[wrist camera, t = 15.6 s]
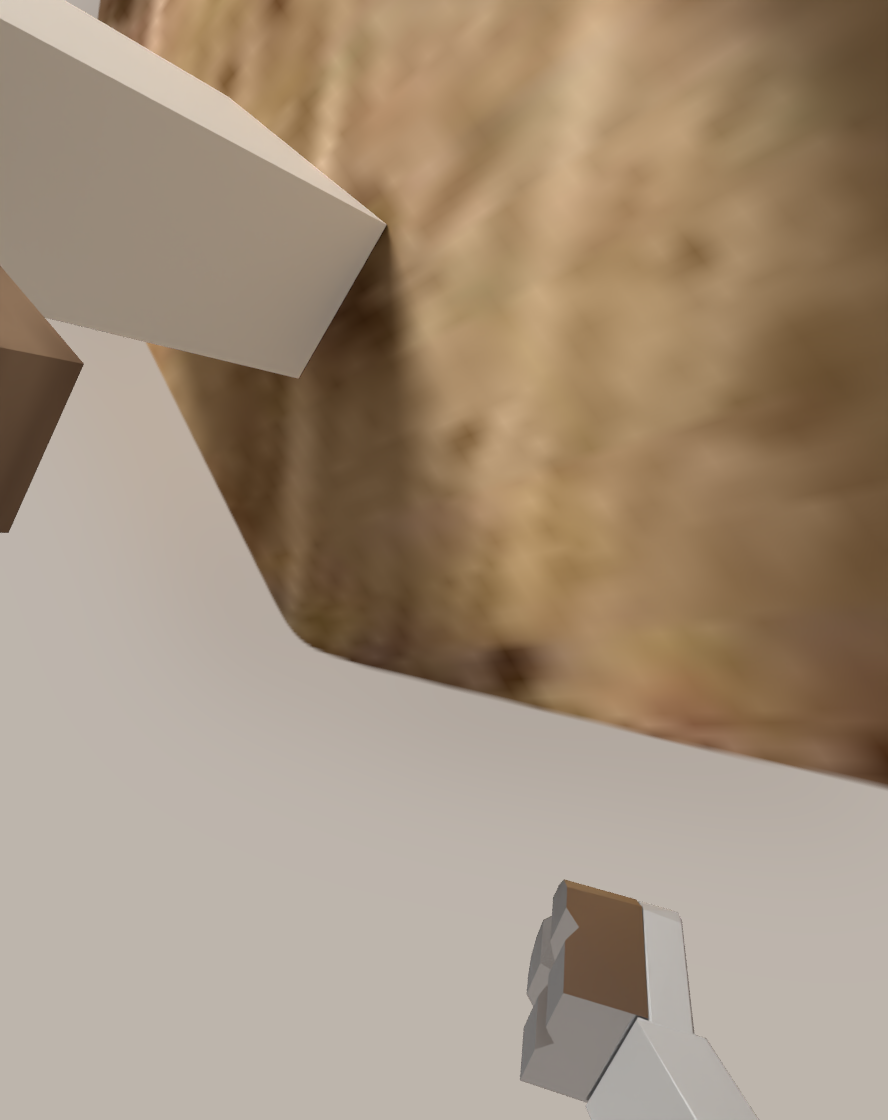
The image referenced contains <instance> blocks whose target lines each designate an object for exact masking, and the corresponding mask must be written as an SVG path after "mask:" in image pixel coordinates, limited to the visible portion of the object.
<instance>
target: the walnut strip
mask: <svg viewBox="0 0 888 1120" xmlns="http://www.w3.org/2000/svg"><path fill="white" fill-rule="evenodd" d="M83 365H84V364H83V362H82V361H81V360H80V359H79V358H78V356H77V355H76V354H75V353H74V352H73V351H72V349H71V348H70V347H69V346H68V345H67V344H66V342H65V341H64V340H63V339H62V338H61V336H60V335H59V334H58V333H57V332H56V331H55V329H54V328H53V327H52V326H51V325H50V324H49V322H48V321H47V320H46V319H45V318H44V316H43V315H42V314H41V313H40V312H39V311H38V309H37V308H36V307H35V306H34V305H33V303H32V302H31V301H30V300H29V299H28V298H27V296H26V295H25V294H24V293H23V292H22V291H21V289H20V288H19V287H18V286H17V285H16V283H15V282H14V281H13V280H12V279H11V278H10V276H9V275H8V274H7V273H6V272H5V271H4V269H3V268H2V267H1V266H0V533H1V532H2V533H8V532H9V530H10V528H11V526H12V524H13V521H14V519H15V517H16V515H17V512H18V510H19V508H20V505H21V503H22V501H23V499H24V497H25V494H26V492H27V490H28V488H29V486H30V483H31V481H32V479H33V476H34V474H35V472H36V470H37V467H38V465H39V463H40V461H41V459H42V456H43V454H44V452H45V450H46V447H47V445H48V443H49V441H50V439H51V436H52V434H53V432H54V430H55V427H56V425H57V423H58V421H59V418H60V416H61V414H62V411H63V409H64V407H65V405H66V403H67V400H68V398H69V396H70V393H71V392H72V389H73V387H74V385H75V383H76V380H77V378H78V376H79V374H80V371H81V369H82V367H83Z"/></svg>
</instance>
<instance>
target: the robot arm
mask: <svg viewBox="0 0 888 1120" xmlns="http://www.w3.org/2000/svg"><path fill="white" fill-rule="evenodd" d="M527 995H528V997H529V999H530V1001H531V1003H532V1005H533V1009H532V1011H531V1013H530V1015H529V1017H528V1020H527V1022H526V1024H525V1026H524V1034H523V1047H522V1062H521V1075H520V1080H521V1081H524V1082H527V1083H530V1084H533V1085H536V1086H539V1087H542V1088H545V1089H548V1090H551V1091H554V1092H557V1093H560V1094H563V1095H566V1096H569V1097H572V1098H575V1099H578V1100H581V1101H584V1102H587V1104H586V1108H587V1111H588V1113H589V1115H590V1118H591V1120H759V1119H758V1117H757V1116H756V1114H755V1113H754V1111H753V1110H752V1108H751V1106H750V1105H749V1103H748V1102H747V1100H746V1099H745V1097H744V1096H743V1094H742V1093H741V1091H740V1090H739V1088H738V1086H737V1085H736V1083H735V1082H734V1080H733V1079H732V1077H731V1076H730V1074H729V1073H728V1071H727V1070H726V1068H725V1067H724V1065H723V1063H722V1062H721V1060H720V1059H719V1057H718V1056H717V1054H716V1053H715V1051H714V1049H713V1048H712V1046H711V1045H710V1043H709V1042H708V1040H707V1039H706V1038H704V1037H701V1036H698V1035H695V1034H694V1027H693V1017H692V1009H691V1000H690V991H689V981H688V972H687V963H686V954H685V946H684V936H683V928H682V920H681V918H680V916H679V914H678V912H676V911H672V910H669V909H665V908H662V907H659V906H655V905H652V904H648V903H644V902H641V901H637V900H635V899H632V898H628V897H625V896H621V895H618V894H614V893H611V892H607V891H603V890H600V889H596V888H593V887H589V886H586V885H582V884H579V883H574V882H571V881H568V880H563V881H562V882H561V884H560V885H559V886H558V888H557V891H556V893H555V895H554V897H553V909H552V916H550V917H549V918H546V919H544V920H543V922H542V925H541V927H540V930H539V932H538V935H537V937H536V941H535V945H534V949H533V953H532V956H531V962H530V968H529V974H528V985H527Z"/></svg>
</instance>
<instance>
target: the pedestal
mask: <svg viewBox="0 0 888 1120" xmlns="http://www.w3.org/2000/svg"><path fill="white" fill-rule="evenodd" d="M386 225H387V224H385V223H384V222H383V221H382V220H380V219H379V218H378V217H377V216H375V215H374V214H373V213H372V212H371V211H369V210H368V209H367V208H366V207H364V206H363V205H362V204H361V203H359V202H358V201H357V200H356V199H354V198H353V197H352V196H351V195H349V194H348V193H347V192H346V191H345V190H343V189H342V188H341V187H340V186H338V185H337V184H336V183H335V182H333V181H332V180H331V179H330V178H328V177H327V176H326V175H325V174H323V173H322V172H321V171H320V170H319V169H317V168H316V167H315V166H314V165H312V164H311V163H310V162H309V161H307V160H306V159H305V158H304V157H302V156H301V155H300V154H299V153H297V152H296V151H295V150H294V149H292V148H291V147H290V146H289V145H288V144H286V143H285V142H284V141H283V140H281V139H280V138H279V137H278V136H276V135H275V134H274V133H273V132H271V131H270V130H269V129H268V128H266V127H265V126H264V125H263V124H262V123H260V122H259V121H258V120H257V119H255V118H254V117H253V116H252V115H250V114H249V113H248V112H247V111H245V110H244V109H243V108H242V107H240V106H239V105H238V104H237V103H236V102H234V101H233V100H232V99H231V98H229V97H228V96H226V95H224V94H223V93H221V92H219V91H218V90H216V89H214V88H213V87H211V86H209V85H207V84H206V83H204V82H202V81H201V80H199V79H197V78H196V77H194V76H192V75H191V74H189V73H187V72H185V71H184V70H182V69H180V68H179V67H177V66H175V65H174V64H172V63H170V62H169V61H167V60H165V59H163V58H162V57H160V56H158V55H157V54H155V53H153V52H152V51H150V50H148V49H147V48H145V47H143V46H141V45H140V44H138V43H136V42H135V41H133V40H131V39H130V38H128V37H126V36H125V35H123V34H121V33H119V32H118V31H116V30H114V29H113V28H111V27H109V26H108V25H106V24H104V23H103V22H101V21H99V20H97V19H96V18H94V17H92V16H91V15H89V14H87V13H86V12H84V11H82V10H80V9H79V8H77V7H75V6H74V5H72V4H70V3H68V2H67V1H65V0H0V266H1V267H2V268H3V269H4V271H5V272H6V273H7V274H8V275H9V276H10V278H11V279H12V280H13V281H14V282H15V283H16V285H17V286H18V287H19V288H20V289H21V291H22V292H23V293H24V294H25V295H26V296H27V298H28V299H29V300H30V301H31V302H32V303H33V305H34V306H35V307H36V308H37V309H38V311H39V312H40V313H41V314H42V315H43V316H44V318H48V319H52V320H57V321H61V322H65V323H69V324H74V325H77V326H81V327H86V328H90V329H95V330H98V331H102V332H106V333H111V334H115V335H119V336H123V337H127V338H132V339H136V340H140V341H144V342H148V343H152V344H156V345H161V346H165V347H169V348H173V349H177V350H181V351H185V352H190V353H194V354H198V355H202V356H206V357H210V358H215V359H219V360H223V361H227V362H231V363H235V364H240V365H244V366H248V367H252V368H256V369H260V370H265V371H269V372H273V373H277V374H281V375H285V376H290V377H294V378H298V379H299V377H300V375H301V373H302V372H303V370H304V368H305V367H306V365H307V363H308V361H309V360H310V358H311V356H312V354H313V353H314V351H315V349H316V347H317V346H318V344H319V342H320V340H321V339H322V337H323V335H324V333H325V332H326V330H327V328H328V326H329V325H330V323H331V321H332V319H333V318H334V316H335V314H336V312H337V311H338V309H339V307H340V305H341V304H342V302H343V300H344V298H345V297H346V295H347V293H348V291H349V290H350V288H351V286H352V285H353V283H354V281H355V279H356V278H357V276H358V274H359V272H360V271H361V269H362V267H363V265H364V264H365V262H366V260H367V258H368V257H369V255H370V253H371V251H372V250H373V248H374V246H375V244H376V243H377V241H378V239H379V237H380V236H381V234H382V232H383V230H384V229H385V227H386Z"/></svg>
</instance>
